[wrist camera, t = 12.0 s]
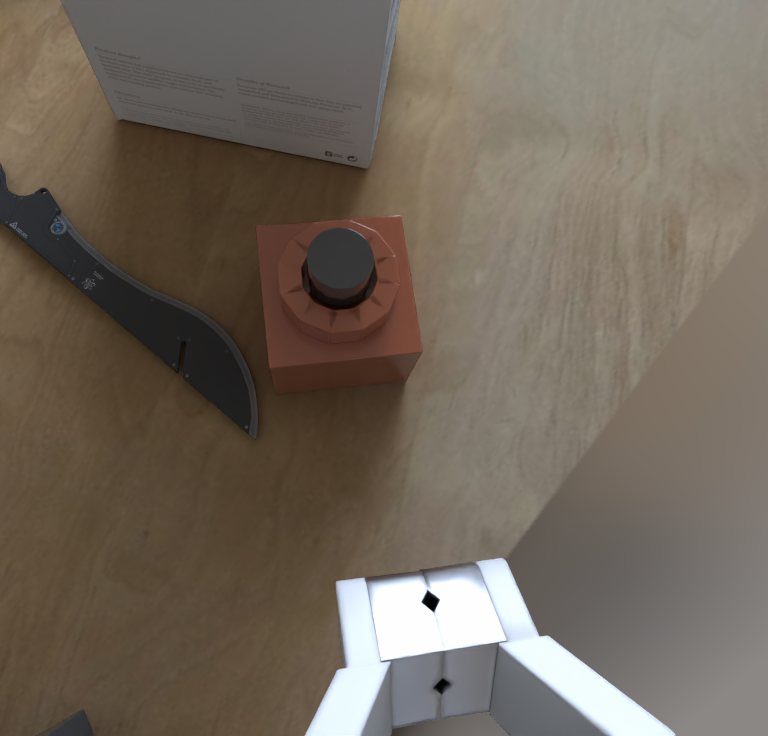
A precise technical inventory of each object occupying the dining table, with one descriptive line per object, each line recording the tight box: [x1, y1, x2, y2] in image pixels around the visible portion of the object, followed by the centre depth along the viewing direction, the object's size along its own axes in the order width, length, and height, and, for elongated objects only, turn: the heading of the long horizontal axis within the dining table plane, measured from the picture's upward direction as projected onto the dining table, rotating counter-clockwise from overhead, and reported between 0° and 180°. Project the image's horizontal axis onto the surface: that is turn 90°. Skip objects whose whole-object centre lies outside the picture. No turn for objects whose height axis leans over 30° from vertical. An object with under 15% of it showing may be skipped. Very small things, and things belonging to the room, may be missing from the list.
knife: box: [0, 163, 258, 440], centre depth 38 cm, size 32×4×1 cm, turn 50°
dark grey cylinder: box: [307, 228, 374, 307], centre depth 31 cm, size 3×3×2 cm
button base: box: [256, 215, 423, 395], centre depth 35 cm, size 8×8×8 cm
